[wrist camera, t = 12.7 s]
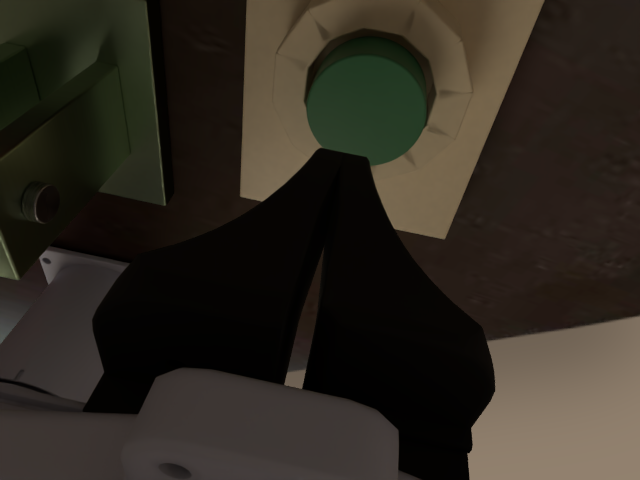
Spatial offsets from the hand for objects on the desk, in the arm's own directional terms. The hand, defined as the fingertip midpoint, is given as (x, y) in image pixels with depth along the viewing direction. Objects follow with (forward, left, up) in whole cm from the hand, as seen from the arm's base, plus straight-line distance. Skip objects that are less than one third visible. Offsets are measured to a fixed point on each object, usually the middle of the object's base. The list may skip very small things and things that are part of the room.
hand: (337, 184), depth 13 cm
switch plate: (-1, 0, -9) cm, 9 cm away
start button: (0, 0, -6) cm, 6 cm away
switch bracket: (-4, +13, -9) cm, 16 cm away
